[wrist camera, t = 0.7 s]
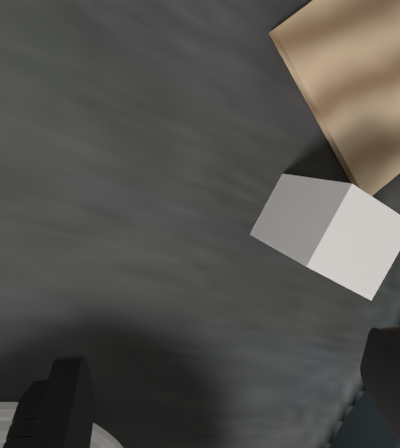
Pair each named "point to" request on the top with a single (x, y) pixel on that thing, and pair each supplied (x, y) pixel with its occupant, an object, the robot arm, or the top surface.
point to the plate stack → (100, 439)
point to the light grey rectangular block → (331, 230)
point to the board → (350, 81)
